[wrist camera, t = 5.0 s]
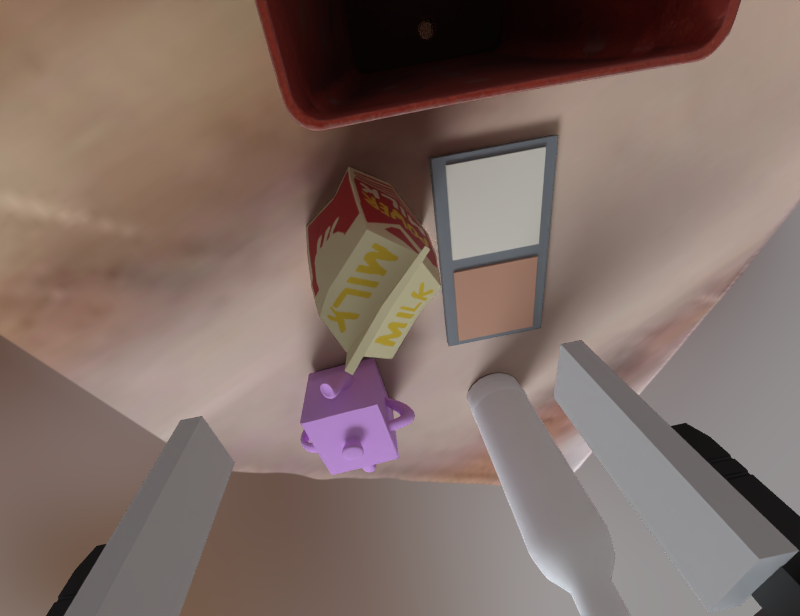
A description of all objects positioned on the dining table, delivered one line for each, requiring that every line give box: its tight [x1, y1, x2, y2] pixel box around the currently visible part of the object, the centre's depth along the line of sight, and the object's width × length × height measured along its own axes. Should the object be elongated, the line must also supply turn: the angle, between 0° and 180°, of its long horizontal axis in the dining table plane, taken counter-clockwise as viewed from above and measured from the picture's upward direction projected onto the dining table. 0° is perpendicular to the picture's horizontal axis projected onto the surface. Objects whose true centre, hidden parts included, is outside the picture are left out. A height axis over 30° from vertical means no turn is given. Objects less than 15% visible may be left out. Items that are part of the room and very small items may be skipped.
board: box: [429, 135, 558, 346], centre depth 35 cm, size 22×12×1 cm, turn 9°
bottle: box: [467, 373, 631, 616], centre depth 34 cm, size 8×8×30 cm
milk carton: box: [306, 167, 441, 375], centre depth 24 cm, size 9×9×20 cm
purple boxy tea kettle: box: [300, 357, 415, 475], centre depth 39 cm, size 18×14×10 cm
